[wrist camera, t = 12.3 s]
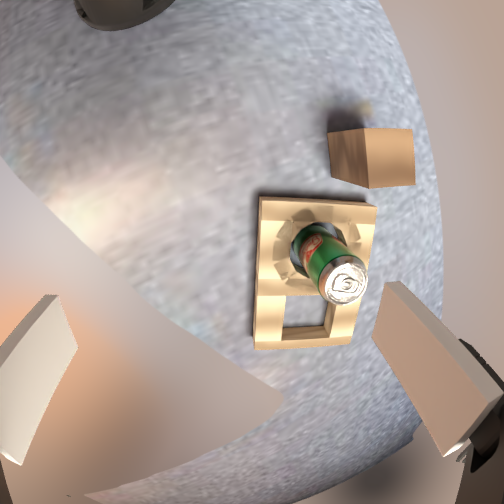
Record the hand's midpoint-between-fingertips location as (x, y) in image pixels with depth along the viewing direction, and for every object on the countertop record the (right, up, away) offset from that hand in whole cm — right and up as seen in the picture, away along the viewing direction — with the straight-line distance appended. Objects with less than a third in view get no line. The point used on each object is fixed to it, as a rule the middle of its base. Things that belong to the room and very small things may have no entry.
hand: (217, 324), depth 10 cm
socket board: (+9, 0, +27) cm, 28 cm away
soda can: (+9, +4, +26) cm, 27 cm away
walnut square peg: (+13, +15, +22) cm, 30 cm away
